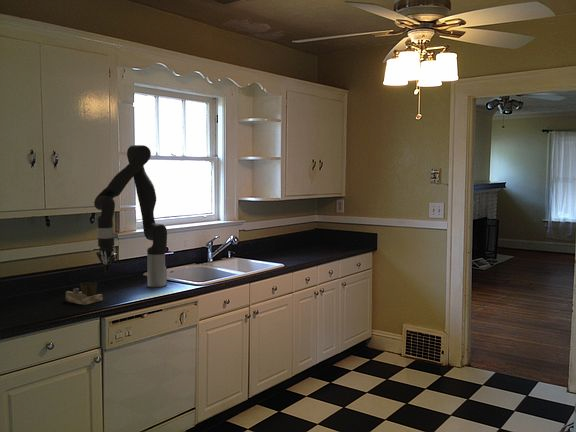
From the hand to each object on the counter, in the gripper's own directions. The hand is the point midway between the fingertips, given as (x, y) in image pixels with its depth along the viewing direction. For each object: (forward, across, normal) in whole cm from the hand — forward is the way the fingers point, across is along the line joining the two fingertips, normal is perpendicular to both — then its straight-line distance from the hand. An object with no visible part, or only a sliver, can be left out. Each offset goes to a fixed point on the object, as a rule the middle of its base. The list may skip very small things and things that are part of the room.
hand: (107, 271), depth 274 cm
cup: (+11, -2, +13) cm, 17 cm away
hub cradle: (+11, -2, +15) cm, 19 cm away
